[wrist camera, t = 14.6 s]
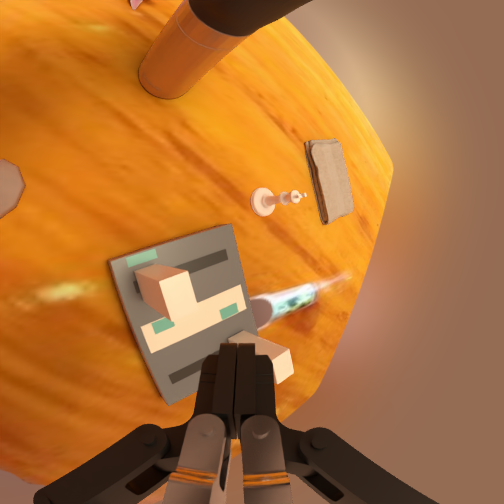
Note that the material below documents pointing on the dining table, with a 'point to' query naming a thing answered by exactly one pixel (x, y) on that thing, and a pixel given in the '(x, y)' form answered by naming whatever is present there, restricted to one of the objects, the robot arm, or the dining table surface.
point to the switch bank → (195, 324)
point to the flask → (9, 186)
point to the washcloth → (329, 179)
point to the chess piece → (271, 200)
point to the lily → (135, 3)
